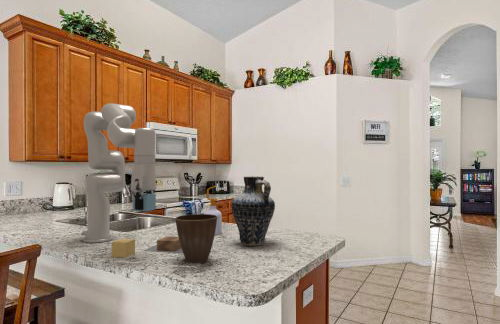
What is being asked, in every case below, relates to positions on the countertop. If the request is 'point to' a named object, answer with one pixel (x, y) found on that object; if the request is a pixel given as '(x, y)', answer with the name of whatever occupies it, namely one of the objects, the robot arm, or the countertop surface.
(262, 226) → the jug
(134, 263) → the countertop surface
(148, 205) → the blue brick
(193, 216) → the plant pot
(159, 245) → the walnut base brick
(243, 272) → the countertop surface
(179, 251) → the grey flat board
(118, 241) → the ochre brick
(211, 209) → the soap bottle
